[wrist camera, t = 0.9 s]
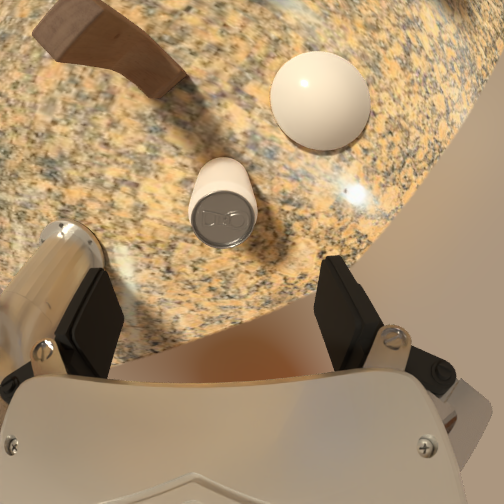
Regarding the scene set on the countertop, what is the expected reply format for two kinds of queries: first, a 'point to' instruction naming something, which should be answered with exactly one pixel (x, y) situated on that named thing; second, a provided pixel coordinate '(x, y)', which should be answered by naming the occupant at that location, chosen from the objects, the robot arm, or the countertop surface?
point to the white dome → (320, 100)
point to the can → (223, 204)
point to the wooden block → (107, 44)
